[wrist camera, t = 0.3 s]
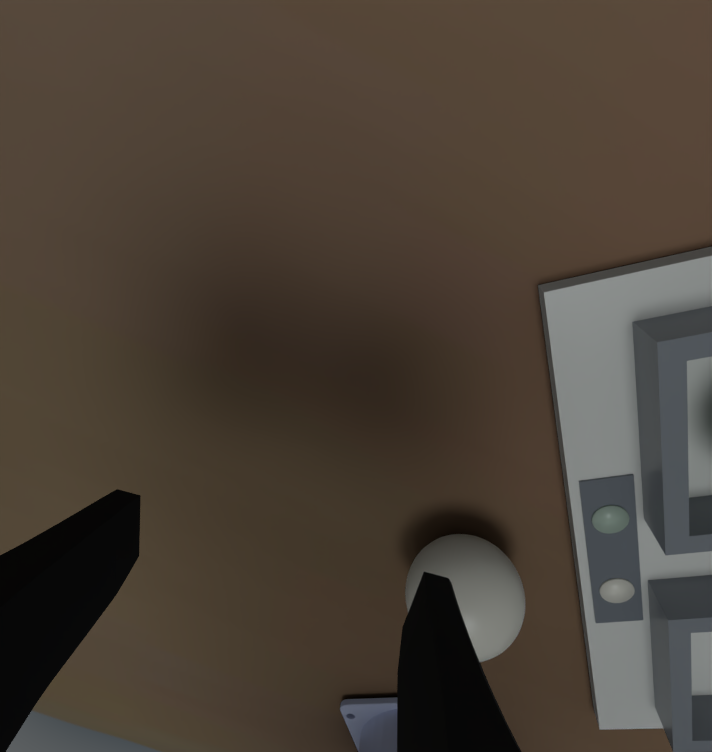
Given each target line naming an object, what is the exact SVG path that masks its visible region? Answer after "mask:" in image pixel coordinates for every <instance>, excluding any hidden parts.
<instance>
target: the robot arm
mask: <svg viewBox="0 0 712 752" xmlns="http://www.w3.org/2000/svg"><path fill="white" fill-rule="evenodd" d="M139 534H140V495H136V494H133V493H129V492H125V491H121V490H118V489H117V490H115V491H113V492H112V493H110V494H108V495H106V496H104V497H103V498H101V499H99V500H98V501H96V502H94V503H92V504H91V505H89V506H87V507H86V508H84V509H82V510H81V511H79V512H77V513H76V514H74V515H72V516H70V517H69V518H67V519H65V520H64V521H62V522H60V523H58V524H57V525H55V526H53V527H51V528H50V529H48V530H46V531H44V532H43V533H41V534H39V535H37V536H36V537H34V538H32V539H30V540H28V541H27V542H25V543H23V544H21V545H19V546H17V547H16V548H14V549H12V550H10V551H8V552H6V553H4V554H2V555H0V752H6V750H7V749H8V747H9V745H10V744H11V742H12V741H13V739H14V737H15V736H16V734H17V733H18V731H19V729H20V728H21V726H22V725H23V723H24V722H25V720H26V718H27V717H28V715H29V714H30V712H31V710H32V709H33V707H34V706H35V704H36V703H37V701H38V700H39V698H40V697H41V695H42V694H43V693H44V691H45V690H46V688H47V687H48V685H49V684H50V683H51V681H52V680H53V679H54V677H55V676H56V675H57V673H58V672H59V671H60V669H61V668H62V667H63V665H64V664H65V663H66V661H67V660H68V659H69V657H70V656H71V655H72V653H73V652H74V651H75V649H76V648H77V647H78V645H79V644H80V643H81V641H82V640H83V639H84V637H85V636H86V635H87V633H88V632H89V631H90V629H91V628H92V627H93V625H94V624H95V623H96V621H97V620H98V619H99V617H100V616H101V615H102V613H103V612H104V611H105V609H106V608H107V607H108V605H109V604H110V602H111V601H112V600H113V598H114V597H115V596H116V594H117V593H118V591H119V589H120V588H121V586H122V584H123V583H124V581H125V579H126V578H127V576H128V574H129V572H130V571H131V569H132V567H133V565H134V564H135V562H136V560H137V558H138V557H139ZM340 711H341V713H342V715H343V718H344V720H345V722H346V725H347V727H348V729H349V732H350V734H351V736H352V738H353V741H354V743H355V745H356V748H357V750H358V752H521V750H520V748H519V746H518V745H517V743H516V741H515V739H514V737H513V735H512V733H511V731H510V729H509V727H508V725H507V723H506V721H505V719H504V716H503V714H502V712H501V710H500V708H499V706H498V704H497V701H496V699H495V697H494V695H493V693H492V690H491V688H490V686H489V684H488V681H487V679H486V677H485V674H484V672H483V669H482V667H481V664H480V662H479V660H478V657H477V655H476V652H475V650H474V647H473V645H472V642H471V639H470V637H469V634H468V631H467V628H466V626H465V623H464V620H463V617H462V614H461V611H460V608H459V605H458V602H457V599H456V596H455V593H454V590H453V586H452V583H451V581H450V580H449V578H446V577H443V576H439V575H435V574H431V573H428V572H424V573H423V575H422V578H421V580H420V583H419V586H418V588H417V591H416V594H415V596H414V599H413V602H412V604H411V607H410V610H409V612H408V615H407V618H406V620H405V623H404V625H403V629H402V638H401V647H400V656H399V665H398V690H397V697H390V698H363V699H345V700H343V701H342V702H341V705H340Z"/></svg>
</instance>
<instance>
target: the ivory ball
mask: <svg viewBox="0 0 712 752" xmlns="http://www.w3.org/2000/svg"><path fill="white" fill-rule="evenodd" d="M424 572H428V573H431V574H435V575H439V576H443V577H446V578H449V580H450V581H451V583H452V586H453V590H454V593H455V596H456V599H457V602H458V605H459V608H460V611H461V614H462V617H463V620H464V623H465V626H466V628H467V631H468V634H469V637H470V639H471V642H472V645H473V647H474V650H475V652H476V655H477V657H478V660H479V662H483V661H486V660H489V659H492V658H494V657H496V656H498V655H499V654H501V653H502V652H504V651H505V650H506V649H507V648H508V647H509V646H510V645H511V644H512V643H513V641H514V640H515V638H516V637H517V635H518V633H519V631H520V629H521V626H522V623H523V620H524V615H525V594H524V588H523V585H522V581H521V578H520V576H519V574H518V572H517V570H516V568H515V566H514V565H513V563H512V562H511V561H510V559H509V558H508V557H507V556H506V555H505V554H504V553H503V552H502V551H501V550H500V549H499V548H498V547H497V546H495V545H494V544H492V543H490V542H489V541H487V540H485V539H483V538H480V537H477V536H473V535H468V534H452V535H447V536H443V537H440V538H438V539H436V540H434V541H432V542H431V543H429V544H428V545H427V546H425V547H424V548H423V549H422V550H421V551H420V552H419V554H418V555H417V556H416V557H415V559H414V561H413V563H412V565H411V567H410V569H409V572H408V575H407V580H406V587H405V597H406V605H407V610H408V612H409V610H410V607H411V604H412V602H413V599H414V596H415V594H416V591H417V588H418V586H419V583H420V580H421V578H422V575H423V573H424Z"/></svg>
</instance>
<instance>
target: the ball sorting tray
mask: <svg viewBox="0 0 712 752" xmlns="http://www.w3.org/2000/svg"><path fill="white" fill-rule="evenodd" d="M538 290H539V298H540V306H541V313H542V321H543V328H544V336H545V343H546V351H547V359H548V366H549V374H550V381H551V389H552V397H553V404H554V412H555V419H556V427H557V434H558V442H559V450H560V457H561V465H562V472H563V480H564V488H565V495H566V503H567V510H568V518H569V525H570V533H571V541H572V548H573V556H574V563H575V571H576V578H577V586H578V594H579V601H580V609H581V616H582V624H583V632H584V639H585V647H586V654H587V662H588V669H589V677H590V685H591V692H592V700H593V707H594V712H595V715H596V719H597V722H598V725H599V729H652V728H664V730H665V733H666V735H667V738H668V740H669V743H670V745H671V748H672V750H673V752H706V751H712V247H707V248H703V249H698V250H694V251H689V252H685V253H680V254H676V255H671V256H667V257H663V258H658V259H654V260H649V261H645V262H640V263H636V264H631V265H627V266H622V267H618V268H613V269H609V270H604V271H600V272H595V273H591V274H586V275H582V276H577V277H573V278H568V279H564V280H559V281H555V282H550V283H546V284H541V285H538Z"/></svg>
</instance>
